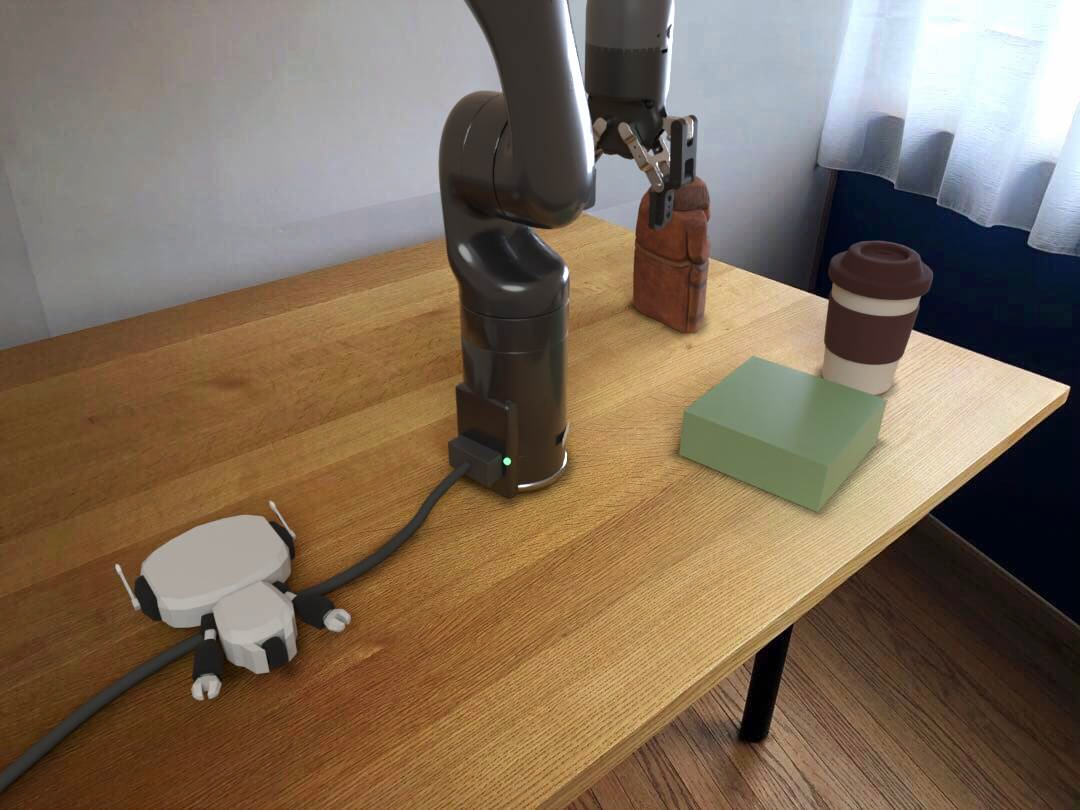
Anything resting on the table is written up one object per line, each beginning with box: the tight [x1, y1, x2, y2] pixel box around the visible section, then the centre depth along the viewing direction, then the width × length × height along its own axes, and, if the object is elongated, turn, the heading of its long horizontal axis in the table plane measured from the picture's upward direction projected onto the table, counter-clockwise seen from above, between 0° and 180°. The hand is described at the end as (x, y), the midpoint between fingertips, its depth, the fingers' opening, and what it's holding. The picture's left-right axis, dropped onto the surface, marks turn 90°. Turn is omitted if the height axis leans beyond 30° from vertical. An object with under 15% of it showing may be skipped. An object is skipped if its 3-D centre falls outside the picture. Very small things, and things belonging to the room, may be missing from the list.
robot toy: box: [114, 500, 352, 701], centre depth 63 cm, size 12×4×15 cm
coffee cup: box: [821, 240, 934, 396], centre depth 91 cm, size 10×10×15 cm
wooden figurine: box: [632, 175, 712, 334], centre depth 104 cm, size 12×6×18 cm, turn 38°
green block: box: [678, 355, 888, 513], centre depth 82 cm, size 14×14×5 cm
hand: (620, 217), depth 83 cm, fingers open, 8 cm apart
